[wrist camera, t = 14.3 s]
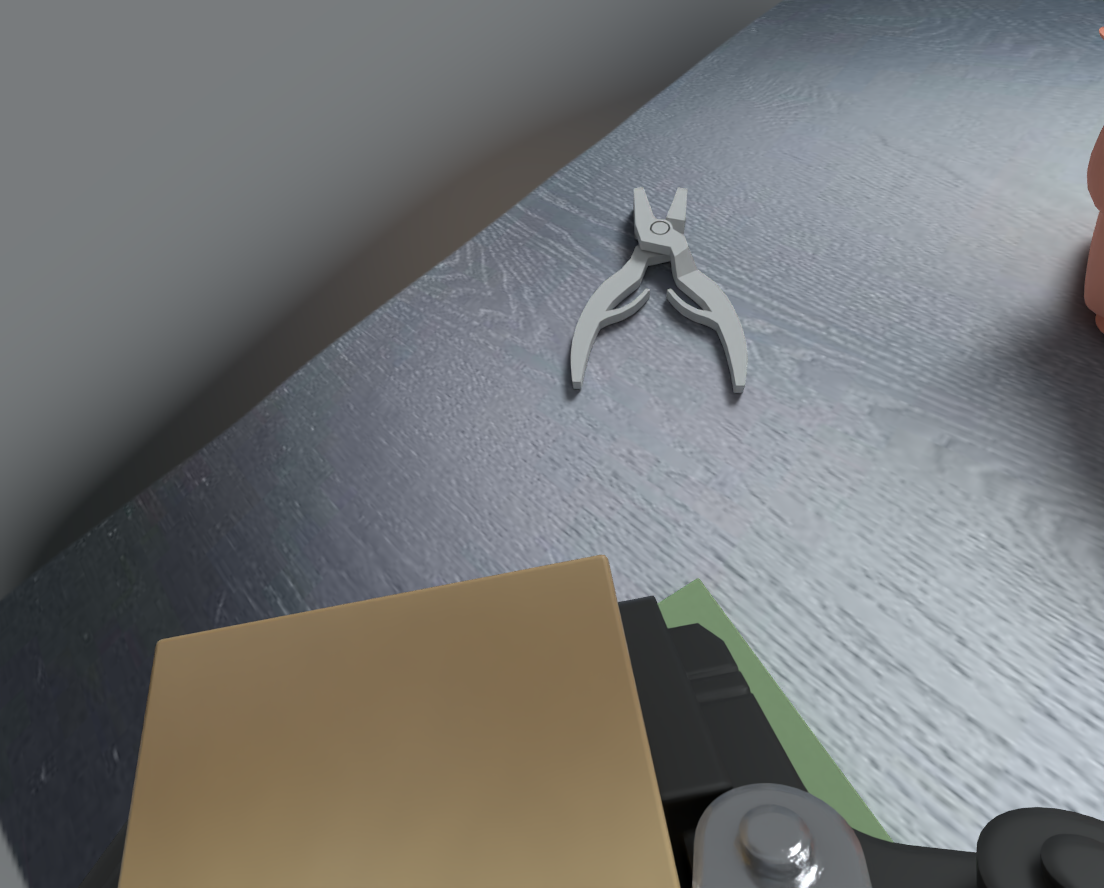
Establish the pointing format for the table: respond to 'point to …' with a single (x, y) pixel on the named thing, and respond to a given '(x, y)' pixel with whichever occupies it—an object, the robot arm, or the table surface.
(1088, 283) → the teapot
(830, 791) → the mat
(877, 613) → the table surface
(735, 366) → the pliers
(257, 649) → the block
